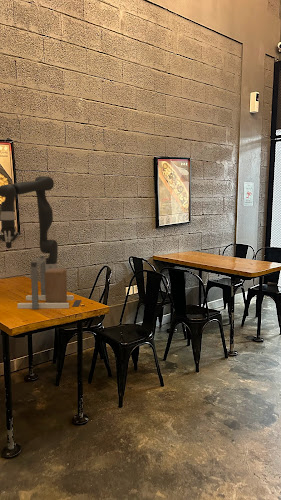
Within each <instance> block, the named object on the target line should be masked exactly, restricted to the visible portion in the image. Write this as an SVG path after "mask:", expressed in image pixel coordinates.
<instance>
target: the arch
mask: <svg viewBox="0 0 281 500" xmlns="http://www.w3.org/2000/svg"><path fill="white" fill-rule="evenodd" d="M46 258H47V257H46V256H43V255H42V256H41V255H40V256H39V257H38V258H36V259H34V260H33V261H31V262H30V273H31V279H30V280H31V295H32V300H31V303H32V308H31V310H39V309H40V308H39V303H40V302H39V300H38V295H39V274H38V272H39V271H38V270H39V269H40V295H45V271H46ZM38 267H40V268H39V269H38Z"/></svg>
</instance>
